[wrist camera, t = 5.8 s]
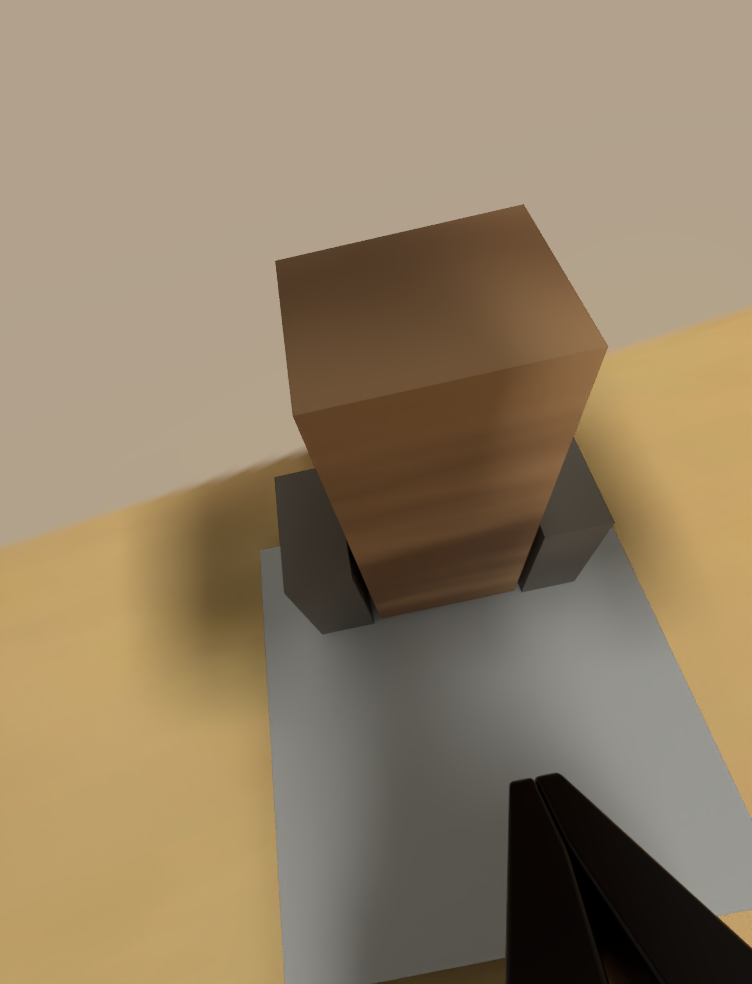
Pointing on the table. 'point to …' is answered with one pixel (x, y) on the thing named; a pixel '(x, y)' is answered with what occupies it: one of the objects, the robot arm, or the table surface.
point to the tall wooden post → (438, 398)
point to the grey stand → (470, 739)
